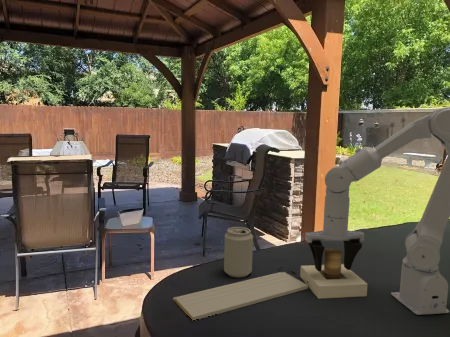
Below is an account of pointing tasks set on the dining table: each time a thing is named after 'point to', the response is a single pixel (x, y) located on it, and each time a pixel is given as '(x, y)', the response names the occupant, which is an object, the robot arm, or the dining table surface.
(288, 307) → the dining table surface
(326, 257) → the oak peg
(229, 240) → the can
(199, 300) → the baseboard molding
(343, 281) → the socket board
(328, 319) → the dining table surface
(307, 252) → the dining table surface
